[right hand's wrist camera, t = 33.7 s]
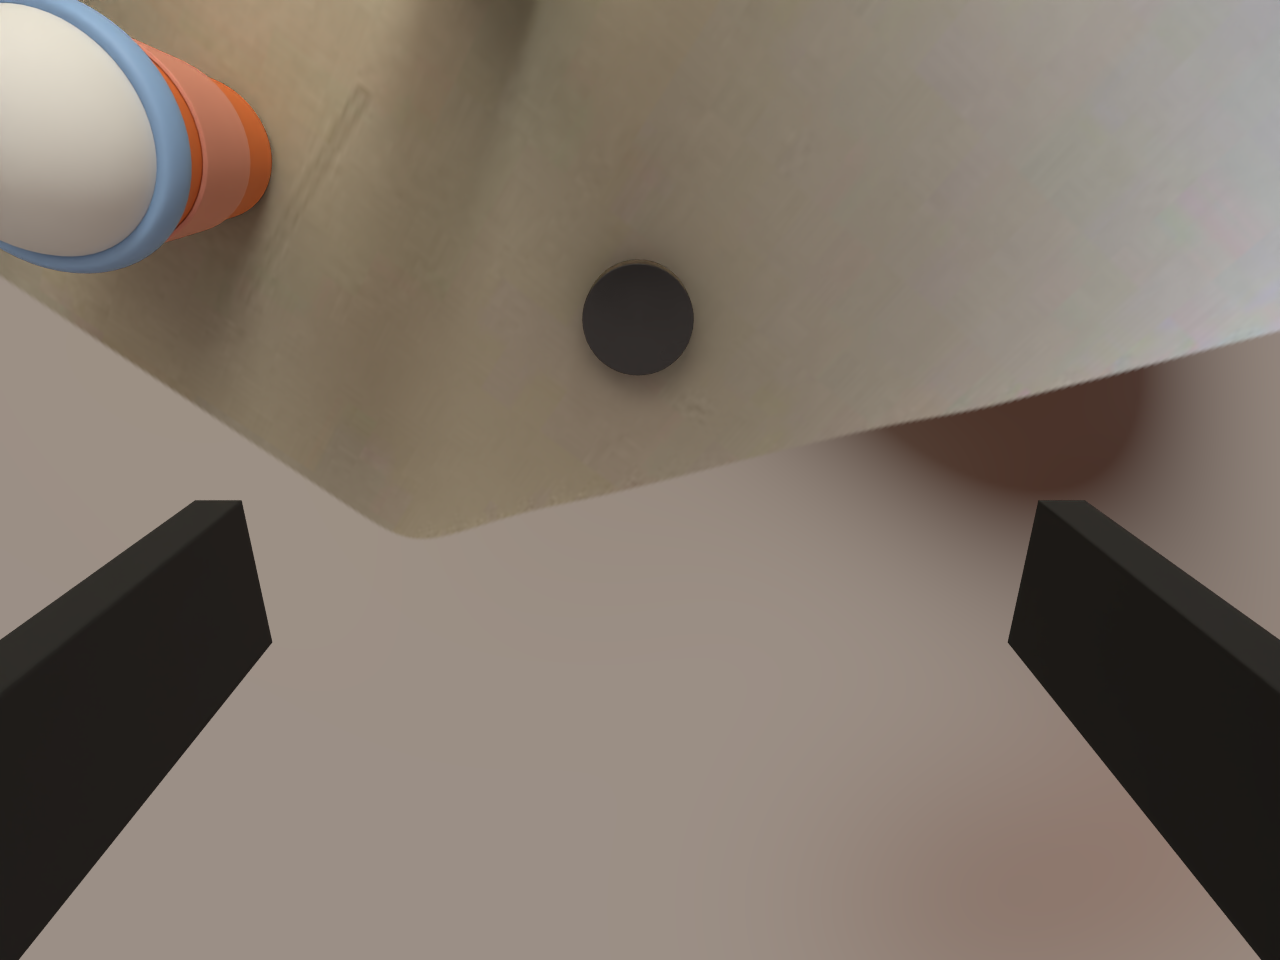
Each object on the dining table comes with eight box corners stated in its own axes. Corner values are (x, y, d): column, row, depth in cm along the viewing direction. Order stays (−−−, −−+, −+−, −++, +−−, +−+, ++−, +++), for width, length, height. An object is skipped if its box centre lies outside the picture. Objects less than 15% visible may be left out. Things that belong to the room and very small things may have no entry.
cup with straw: (212, 287, 37) (-133, 371, 21) (66, 123, 35) (-467, 68, 18) (345, 175, 36) (84, 169, 19) (202, -8, 33) (-254, -206, 16)
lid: (668, 242, 37) (669, 245, 35) (706, 343, 39) (709, 351, 37) (568, 284, 38) (564, 289, 36) (609, 381, 39) (608, 391, 38)
